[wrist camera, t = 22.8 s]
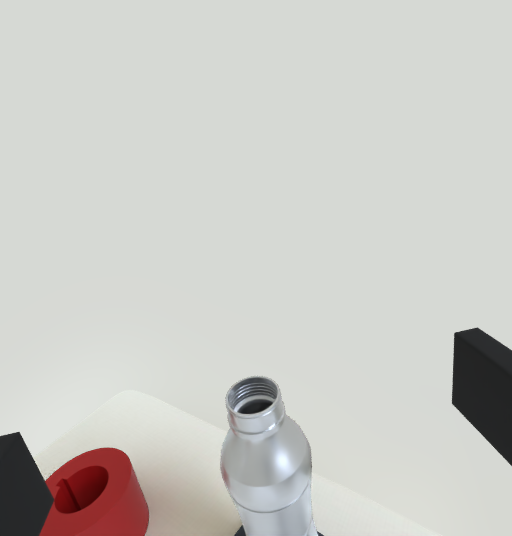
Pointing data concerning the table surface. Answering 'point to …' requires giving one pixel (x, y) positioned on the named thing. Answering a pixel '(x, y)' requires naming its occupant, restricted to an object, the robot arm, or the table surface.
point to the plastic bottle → (266, 462)
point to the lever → (96, 497)
